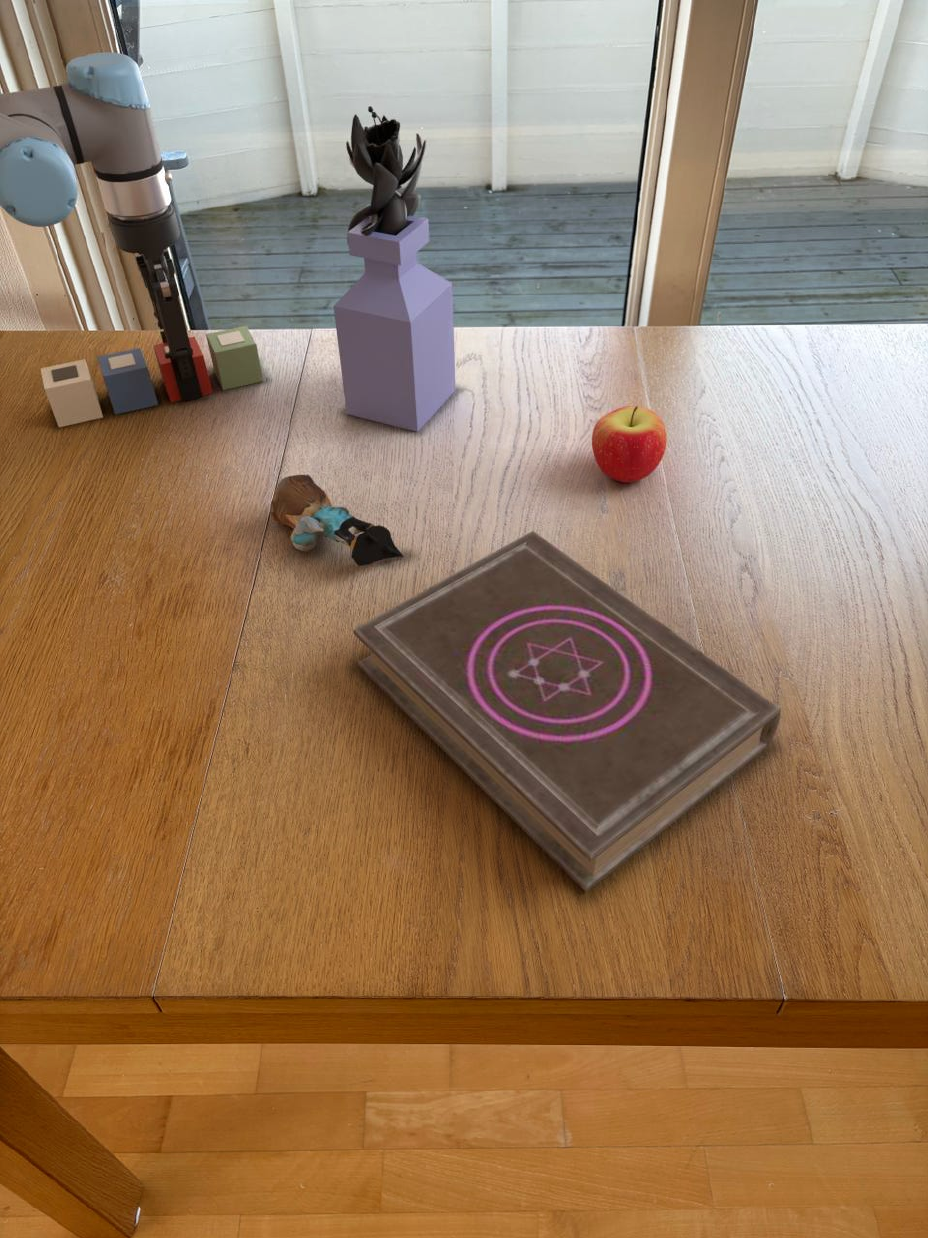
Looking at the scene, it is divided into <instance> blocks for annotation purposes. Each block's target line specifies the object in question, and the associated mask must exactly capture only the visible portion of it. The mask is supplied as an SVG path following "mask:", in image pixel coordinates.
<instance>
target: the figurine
mask: <svg viewBox="0 0 928 1238" xmlns="http://www.w3.org/2000/svg"><path fill="white" fill-rule="evenodd" d="M269 509H270V510H269V511H270V512H269V513H270V518H271V520H273V521H274V522H276V523H277V524H281V525H286V526H289V527H290V528H292V529H293V530H292V532H291V535H290V541H291V544H292V545H293V546H294V548H295V549H297V550H298V551H302V552H309V551H311V550H312V549H314V548H315V547H316V546H317V543H318V540H319V537H324V538H329V539H331V540H333V541H335V542H336V543H341V544H345V545H347V546H348V547H349V549H350V550H351V556H350V559H352V560H353V562H354V564H355V566H356V567H364V566H368V565H371V564H374V563H377V562H380V561H383V560H388V559H394V558H395V559H396V558H405V555H403V553H402V552H401V551H400V550H399V548H398V547H397V546H396V544H395V542H394V539H393V537H392V533H391V531H390V530H389V529H388V528H387V527H385V526H383V525H380V524H377V525H375V524H373V523H371V522H367V521H364V520H361V519H359V518H357V517H355V516H354V515H352V514H350V511H349V509H347V507H344V506H336V507H335V506H332V503H331V500H330V498H329V497H328V494H327V493H326V491H325V490H323V488H321V487H320V486H319V485H317V484H316V483H315V480H313V478H312V477H311V475H309V474H295V475H294V474H293V475H289V476H285V477H284V478H282V479H281V480H280V481H279V482H278V484H277V486H276V488H275V490H274V493H273V497H272V499H271V502H270V506H269ZM357 534H358V535H357Z"/></svg>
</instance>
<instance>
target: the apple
mask: <svg viewBox="0 0 928 1238" xmlns="http://www.w3.org/2000/svg"><path fill="white" fill-rule="evenodd" d="M667 441H668V440H667V430H666V426H665V424H664V421H663V420H662V418H661V417H660V415H659V413H657V412H656V411H654V410H652V409H649V408H647V407H643V406H638V405H626V406H622V407H619V408H616V409H614V410H612V411H610V412H608V413H606V414H605V415H603V416H601V418H599V419H598V420H597V421H596V422H595V425H594V427H593V429H592V434H591V449H592V453H593V456H594V459H595V462H596V464H597V466H598V468H599V469H600V471H601V472H602V473H603V474H604V475H605V476H607V477H608V478H610V479H612V480H614V481H617V482H618V481H619V482H620V483H621V482H622V483H635V482H638V481H641V480H644V479H645V478H647V477H648V476H649V475H651V474H652V473H653V472H654V471H656V469H657V468H658V466H659V465H660V464H661V462H662V460H663V458H664V455H665V452H666V448H667Z"/></svg>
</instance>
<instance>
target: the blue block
mask: <svg viewBox="0 0 928 1238" xmlns="http://www.w3.org/2000/svg"><path fill="white" fill-rule="evenodd" d="M96 358H97V360H98V365H99V369H100V371H101V372H100V373H101V376H102V379H103V382H104V384H105V385H104V386H105V388H106V391H107V394H108V398H109V400H110V403H111V406H112V410H113V413H114V415H120V414H124V413H128V412H129V413H130V412H133V411H138V410H142V409H147V408H152V407H156V406H158V405H159V402H158V399H157V396H156V392H155V388H154V385H153V381H152V378H151V375H150V371H149V368H148V365H147V363H146V359H145V355H144V354H143V351H142V348H141V347H137V348H131V349H128V350H122V351H119V352H112V353H108V354H104V355H99V356H97V357H96Z"/></svg>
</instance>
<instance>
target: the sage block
mask: <svg viewBox="0 0 928 1238" xmlns="http://www.w3.org/2000/svg"><path fill="white" fill-rule="evenodd" d="M205 336H206V341H207V346H208V349H209V353H210V354H209V355H210V359H211V364H212V367H213V372H214V374H215V377H216V378H217V381H218V383H219V384H220V387H221V389H222V391H226V390H231V389H235V388H239V387H244V386H248V385H252V384H258V383H261V382H264V378H263V377H264V376H263V371H262V365H261V361H260V356H259V350H258V346H257V342H256V341H255V339H254V337H253V335H252V333H251V332H250V330H249V328H248V326H247V325H243V326H238V327H234V328H229V329H223V330H219V331H214V332H210V333H206V334H205Z"/></svg>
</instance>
